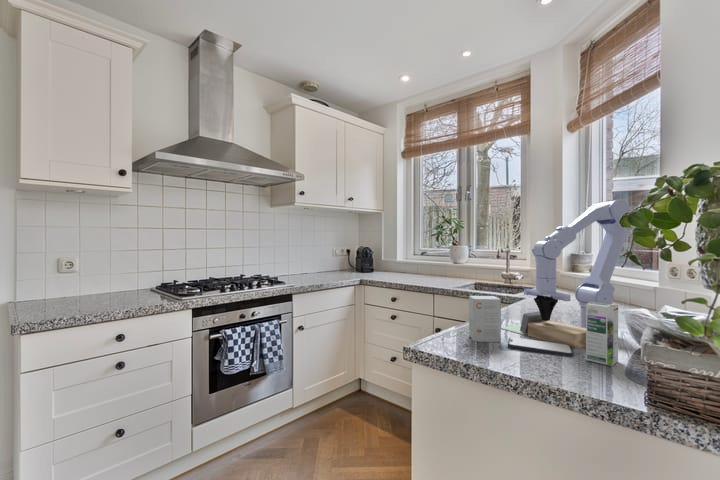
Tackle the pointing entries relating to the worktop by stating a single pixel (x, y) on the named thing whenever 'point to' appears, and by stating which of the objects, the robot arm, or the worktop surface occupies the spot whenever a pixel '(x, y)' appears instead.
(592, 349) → the syrup box
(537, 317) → the tile
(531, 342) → the phone case
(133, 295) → the worktop surface
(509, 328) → the mat
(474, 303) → the small box
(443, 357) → the worktop surface
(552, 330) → the wooden block
